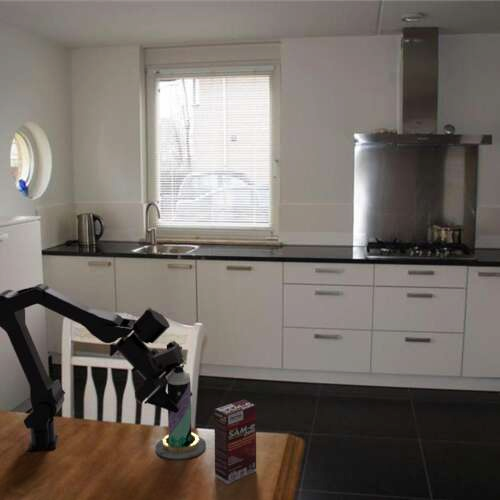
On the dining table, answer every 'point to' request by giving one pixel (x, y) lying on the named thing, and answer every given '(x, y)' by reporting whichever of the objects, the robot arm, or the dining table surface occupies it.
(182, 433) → the spray can
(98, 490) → the dining table surface
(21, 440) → the dining table surface
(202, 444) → the dock
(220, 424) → the supplement box
